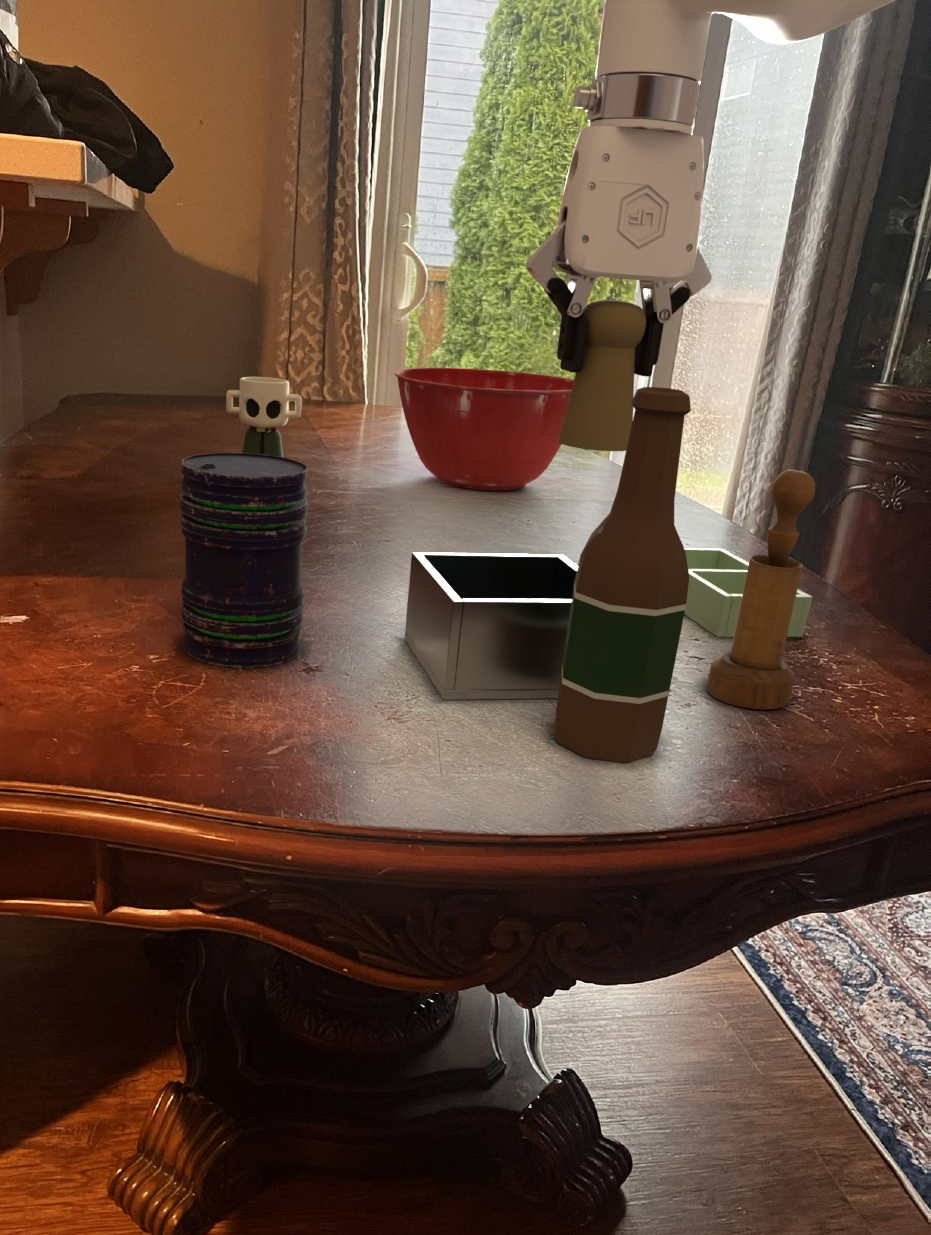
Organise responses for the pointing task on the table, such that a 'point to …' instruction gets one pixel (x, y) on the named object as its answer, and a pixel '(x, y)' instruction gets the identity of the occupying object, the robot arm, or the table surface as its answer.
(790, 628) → the divided storage box
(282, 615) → the oil drum
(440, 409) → the mixing bowl
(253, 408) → the character mug
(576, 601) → the beer bottle
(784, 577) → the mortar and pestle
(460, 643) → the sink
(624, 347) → the cork
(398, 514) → the table surface
